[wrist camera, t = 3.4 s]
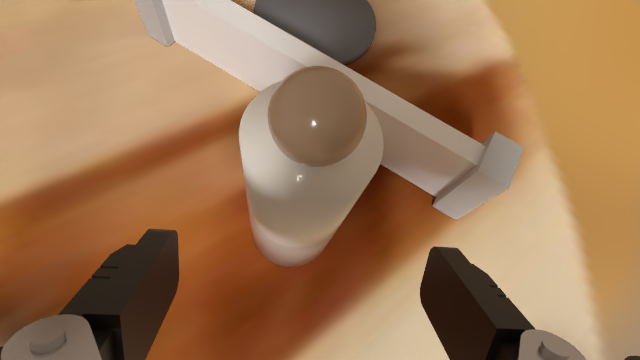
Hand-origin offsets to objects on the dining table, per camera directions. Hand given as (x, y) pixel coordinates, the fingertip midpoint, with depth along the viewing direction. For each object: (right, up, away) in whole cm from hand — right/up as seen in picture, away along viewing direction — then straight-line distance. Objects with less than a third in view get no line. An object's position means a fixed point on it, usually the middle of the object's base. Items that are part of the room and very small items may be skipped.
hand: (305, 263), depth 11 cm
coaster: (0, +16, +18) cm, 24 cm away
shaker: (-1, 0, +10) cm, 11 cm away
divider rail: (-1, +8, +14) cm, 16 cm away
